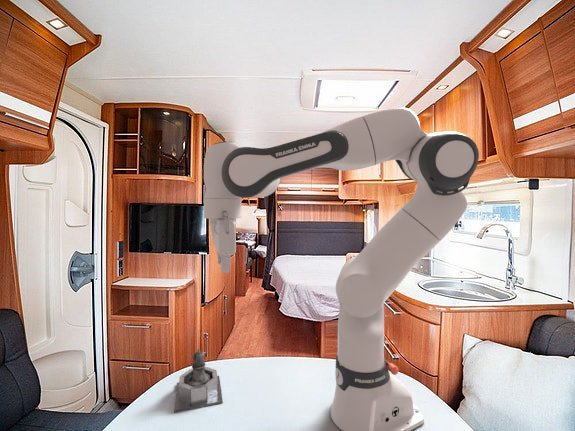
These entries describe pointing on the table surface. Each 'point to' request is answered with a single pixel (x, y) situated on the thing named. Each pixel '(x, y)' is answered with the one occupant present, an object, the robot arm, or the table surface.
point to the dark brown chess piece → (198, 370)
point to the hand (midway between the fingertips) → (223, 267)
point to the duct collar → (197, 392)
